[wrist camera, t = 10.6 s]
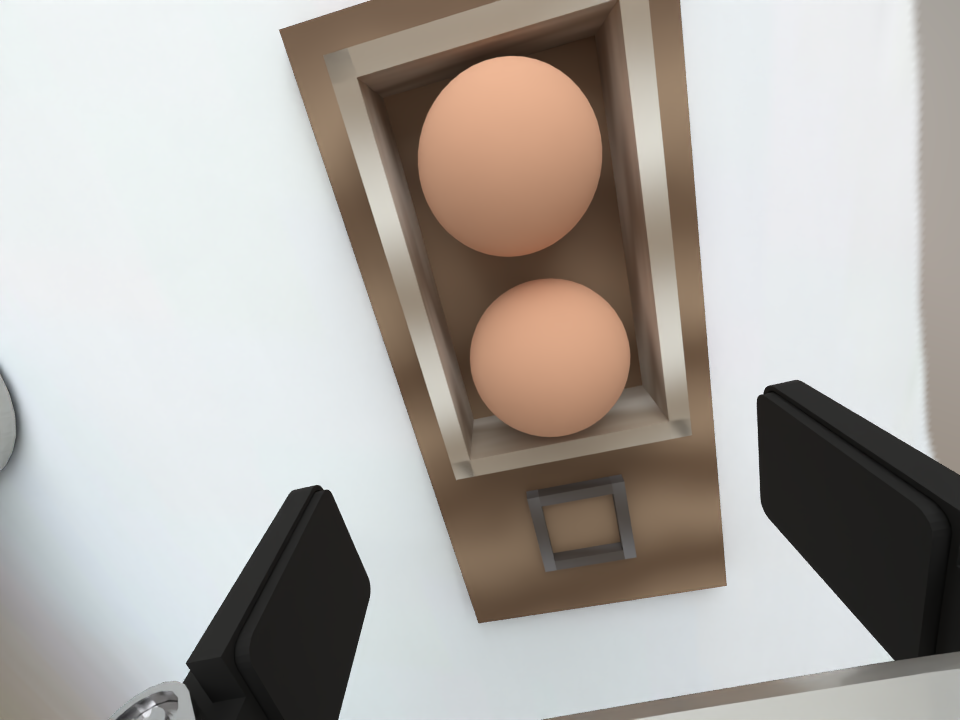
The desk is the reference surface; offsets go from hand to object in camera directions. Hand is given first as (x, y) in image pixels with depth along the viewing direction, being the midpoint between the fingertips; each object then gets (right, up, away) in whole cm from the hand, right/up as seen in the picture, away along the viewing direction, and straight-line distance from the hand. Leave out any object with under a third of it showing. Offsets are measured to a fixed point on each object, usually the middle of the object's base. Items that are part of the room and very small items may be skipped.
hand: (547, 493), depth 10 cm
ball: (0, +9, +5) cm, 11 cm away
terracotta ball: (+1, +3, +8) cm, 8 cm away
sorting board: (+2, +3, +12) cm, 12 cm away
